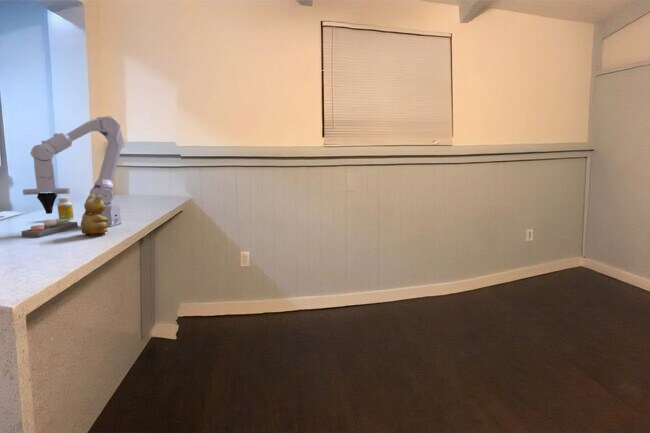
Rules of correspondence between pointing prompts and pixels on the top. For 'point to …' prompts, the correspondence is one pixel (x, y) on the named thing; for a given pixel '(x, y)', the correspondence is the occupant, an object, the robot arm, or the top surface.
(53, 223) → the ivory button
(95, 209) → the decorative figurine
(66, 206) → the supplement bottle
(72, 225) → the panel
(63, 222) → the sage button
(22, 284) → the top surface
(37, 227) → the terracotta button
